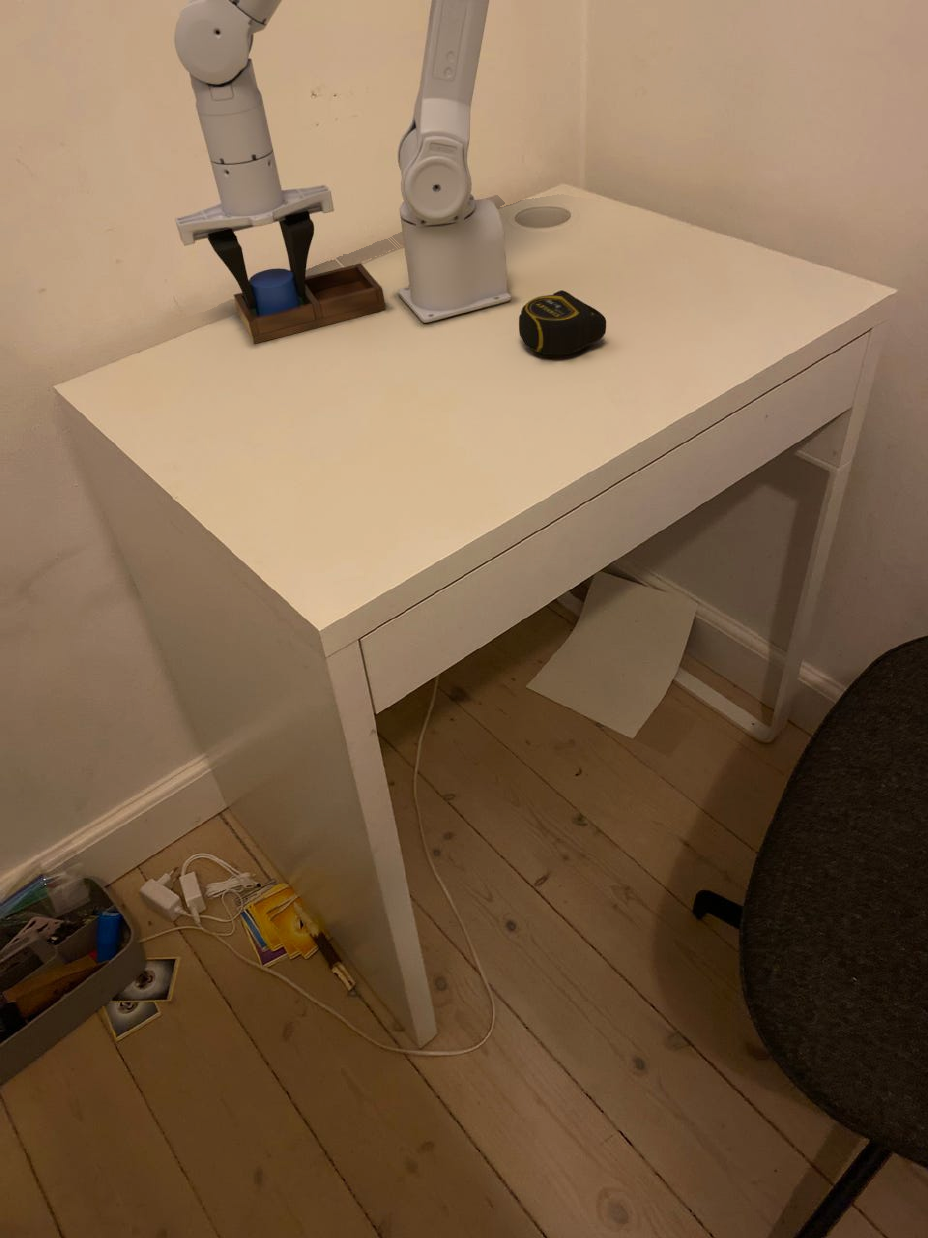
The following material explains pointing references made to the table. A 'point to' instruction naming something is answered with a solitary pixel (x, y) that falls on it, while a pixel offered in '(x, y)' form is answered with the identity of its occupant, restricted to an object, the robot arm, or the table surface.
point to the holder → (318, 304)
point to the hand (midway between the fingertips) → (275, 298)
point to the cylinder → (274, 291)
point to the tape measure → (560, 324)
